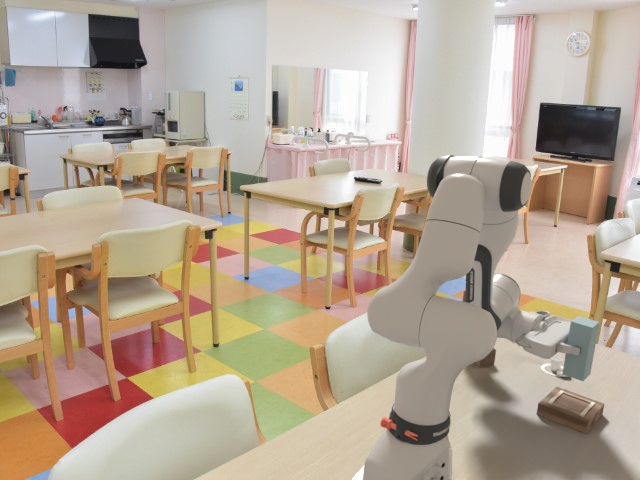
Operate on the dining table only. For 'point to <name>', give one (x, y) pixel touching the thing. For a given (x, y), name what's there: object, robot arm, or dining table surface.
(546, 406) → the plinth
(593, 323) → the column
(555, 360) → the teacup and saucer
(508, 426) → the dining table surface
